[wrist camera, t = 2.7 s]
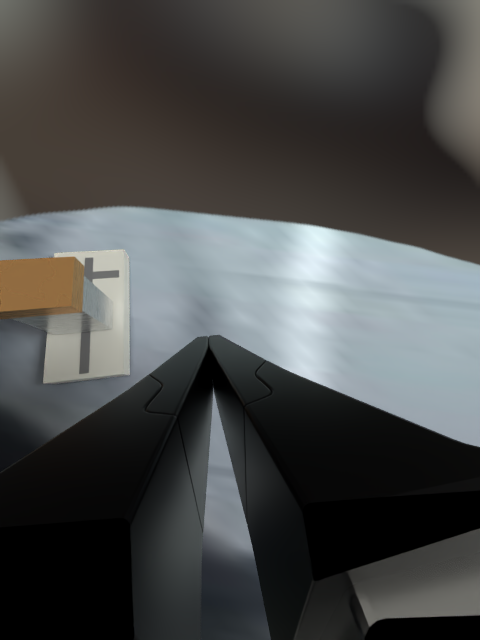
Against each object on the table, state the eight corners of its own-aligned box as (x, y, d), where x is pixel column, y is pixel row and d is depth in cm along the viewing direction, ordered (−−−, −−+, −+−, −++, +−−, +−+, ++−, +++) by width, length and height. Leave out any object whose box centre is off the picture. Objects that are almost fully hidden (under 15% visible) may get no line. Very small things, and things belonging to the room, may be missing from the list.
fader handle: (116, 332, 20) (71, 306, 14) (50, 339, 20) (-28, 313, 13) (116, 297, 21) (74, 256, 15) (54, 302, 21) (-19, 261, 14)
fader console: (129, 375, 21) (123, 374, 20) (54, 384, 20) (42, 383, 19) (129, 257, 24) (123, 249, 23) (64, 261, 24) (53, 252, 22)
